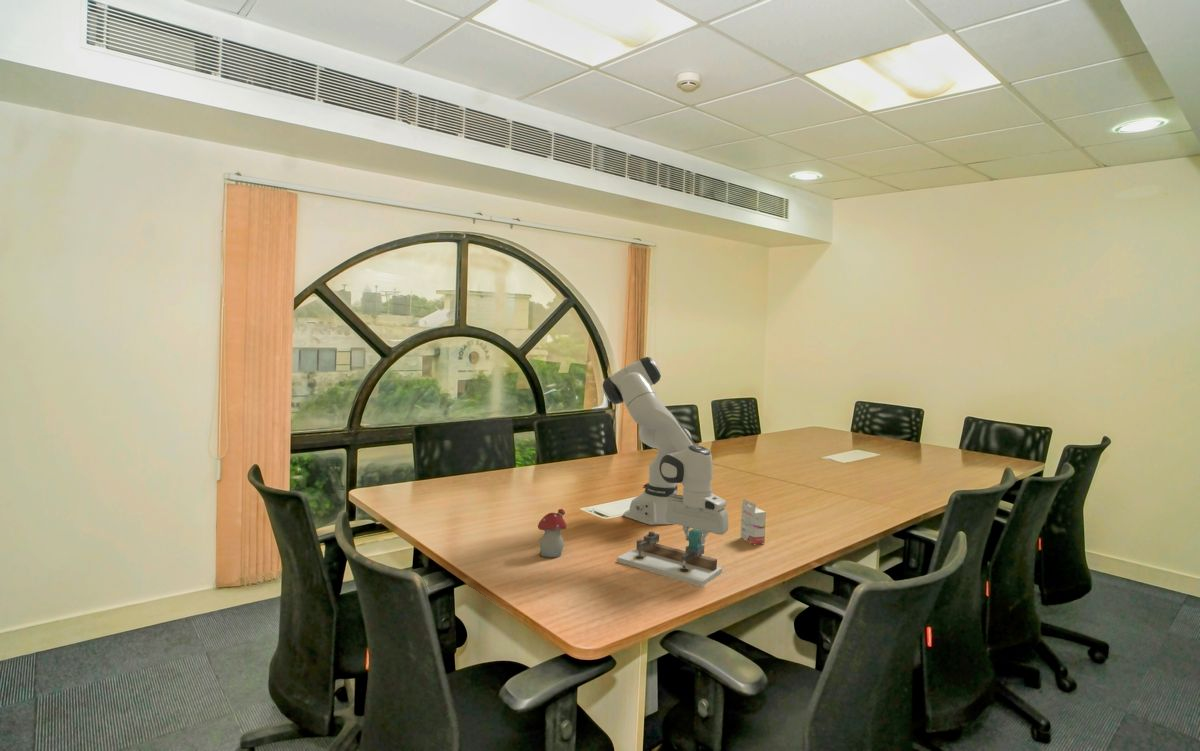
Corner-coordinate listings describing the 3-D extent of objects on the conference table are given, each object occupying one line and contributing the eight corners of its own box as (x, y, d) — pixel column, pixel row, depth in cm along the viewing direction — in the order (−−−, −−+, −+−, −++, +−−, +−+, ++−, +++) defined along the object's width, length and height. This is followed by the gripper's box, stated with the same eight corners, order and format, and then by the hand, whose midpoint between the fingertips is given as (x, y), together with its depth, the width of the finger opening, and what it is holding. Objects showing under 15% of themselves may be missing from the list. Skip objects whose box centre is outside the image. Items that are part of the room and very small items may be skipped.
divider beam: (625, 554, 192) (626, 534, 192) (641, 546, 201) (642, 527, 200) (704, 577, 176) (705, 555, 176) (718, 567, 184) (719, 546, 184)
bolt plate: (616, 561, 190) (617, 556, 190) (640, 550, 202) (640, 545, 202) (701, 586, 173) (702, 581, 173) (722, 572, 184) (722, 567, 184)
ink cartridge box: (765, 544, 212) (767, 503, 211) (753, 545, 210) (755, 504, 209) (751, 536, 220) (753, 497, 219) (739, 537, 218) (741, 498, 217)
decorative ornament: (565, 551, 198) (566, 507, 197) (566, 558, 192) (567, 512, 191) (537, 551, 197) (538, 507, 196) (537, 558, 191) (538, 512, 190)
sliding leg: (677, 566, 181) (678, 535, 181) (692, 557, 189) (693, 527, 189) (689, 569, 179) (690, 538, 178) (703, 560, 187) (705, 530, 187)
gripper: (662, 494, 188) (661, 537, 189) (722, 506, 177) (720, 552, 177) (672, 490, 194) (670, 532, 194) (731, 502, 182) (729, 546, 182)
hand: (695, 542), depth 186 cm, fingers closed on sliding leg, 3 cm apart
